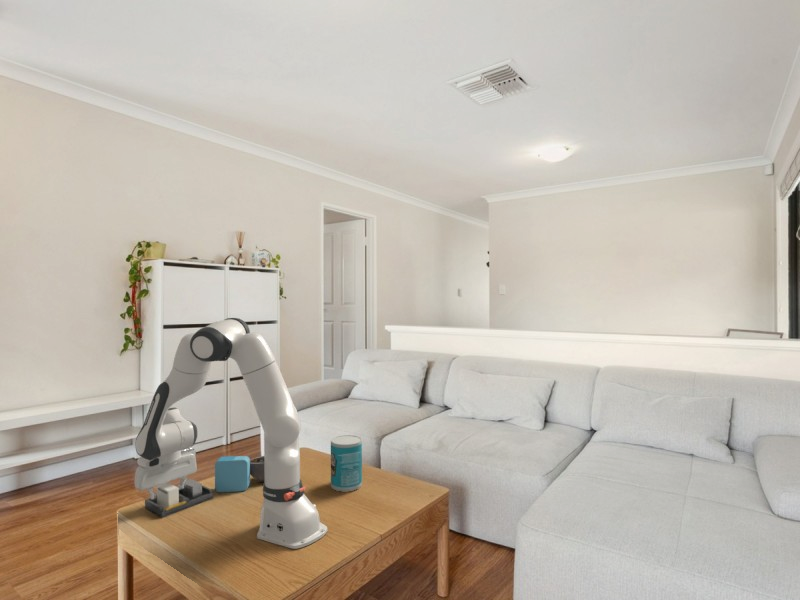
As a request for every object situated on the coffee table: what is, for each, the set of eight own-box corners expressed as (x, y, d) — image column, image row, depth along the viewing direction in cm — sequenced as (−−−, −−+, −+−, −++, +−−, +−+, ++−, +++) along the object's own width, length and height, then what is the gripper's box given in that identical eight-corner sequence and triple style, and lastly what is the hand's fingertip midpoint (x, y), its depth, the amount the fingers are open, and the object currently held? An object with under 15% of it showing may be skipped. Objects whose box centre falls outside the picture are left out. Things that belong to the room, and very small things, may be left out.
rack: (213, 498, 166) (213, 482, 166) (162, 518, 152) (161, 500, 152) (195, 490, 174) (195, 474, 174) (145, 508, 159) (144, 491, 159)
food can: (325, 489, 174) (324, 442, 174) (340, 477, 185) (340, 433, 185) (352, 494, 169) (352, 446, 169) (367, 482, 180) (367, 436, 180)
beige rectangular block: (178, 506, 158) (178, 487, 158) (168, 510, 155) (168, 491, 155) (167, 500, 163) (167, 482, 163) (157, 504, 160) (156, 485, 160)
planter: (243, 485, 178) (242, 434, 178) (267, 469, 194) (267, 422, 194) (276, 489, 174) (276, 437, 173) (298, 473, 190) (298, 425, 189)
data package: (250, 486, 177) (250, 455, 177) (247, 491, 173) (247, 459, 172) (218, 487, 176) (218, 456, 176) (214, 492, 171) (214, 461, 171)
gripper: (190, 444, 169) (191, 481, 169) (132, 460, 153) (132, 501, 153) (200, 448, 165) (200, 485, 166) (140, 464, 149) (141, 507, 149)
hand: (167, 493), depth 159 cm, fingers open, 8 cm apart
